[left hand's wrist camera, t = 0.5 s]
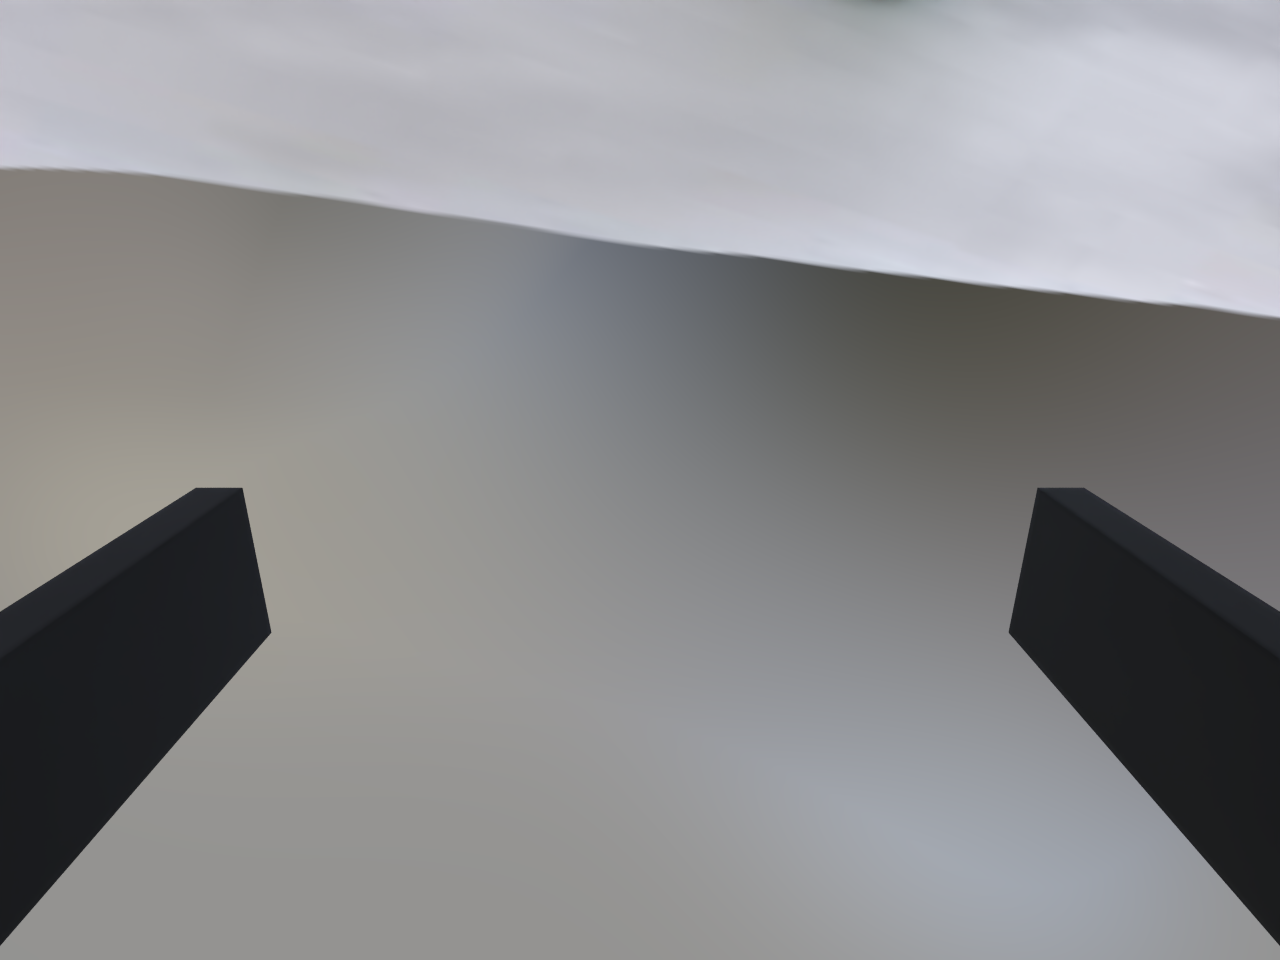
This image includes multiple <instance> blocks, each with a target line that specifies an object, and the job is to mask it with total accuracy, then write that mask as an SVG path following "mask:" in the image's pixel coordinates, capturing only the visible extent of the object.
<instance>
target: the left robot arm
mask: <svg viewBox="0 0 1280 960" xmlns="http://www.w3.org/2000/svg"><path fill="white" fill-rule="evenodd" d="M1009 633H1010V635H1011V636H1012V637H1013V638H1014V639H1015V640H1016V641H1017V643H1018V644H1019V645H1020V646H1021V647H1022V648H1023V650H1024V651H1025V652H1026V653H1027V654H1028V655H1029V657H1030V658H1031V659H1032V660H1033V661H1034V662H1035V663H1036V665H1037V666H1038V667H1039V668H1040V669H1041V670H1042V672H1043V673H1044V674H1045V675H1046V676H1047V677H1048V678H1049V680H1050V681H1051V682H1052V683H1053V684H1054V685H1055V687H1056V688H1057V689H1058V690H1059V691H1060V692H1061V693H1062V695H1063V696H1064V697H1065V698H1066V699H1067V700H1068V702H1069V703H1070V704H1071V705H1072V706H1073V707H1074V709H1075V710H1076V711H1077V712H1078V713H1079V714H1080V715H1081V717H1082V718H1083V719H1084V720H1085V721H1086V722H1087V724H1088V725H1089V726H1090V727H1091V728H1092V729H1093V730H1094V732H1095V733H1096V734H1097V735H1098V736H1099V737H1100V739H1101V740H1102V741H1103V742H1104V743H1105V744H1106V745H1107V747H1108V748H1109V749H1110V750H1111V751H1112V752H1113V754H1114V755H1115V756H1116V757H1117V758H1118V759H1119V761H1120V762H1121V763H1122V764H1123V765H1124V766H1125V767H1126V769H1127V770H1128V771H1129V772H1130V773H1131V774H1132V775H1133V777H1134V778H1135V779H1136V780H1137V781H1138V782H1139V784H1140V785H1141V786H1142V787H1143V788H1144V789H1145V791H1146V792H1147V793H1148V794H1149V795H1150V796H1151V797H1152V799H1153V800H1154V801H1155V802H1156V803H1157V804H1158V806H1159V807H1160V808H1161V809H1162V810H1163V811H1164V812H1165V814H1166V815H1167V816H1168V817H1169V818H1170V819H1171V821H1172V822H1173V823H1174V824H1175V825H1176V826H1177V828H1178V829H1179V830H1180V831H1181V832H1182V833H1183V834H1184V836H1185V837H1186V838H1187V839H1188V840H1189V841H1190V842H1191V844H1192V845H1193V846H1194V847H1195V848H1196V849H1197V851H1198V852H1199V853H1200V854H1201V855H1202V856H1203V858H1204V859H1205V860H1206V861H1207V862H1208V863H1209V864H1210V866H1211V867H1212V868H1213V869H1214V870H1215V871H1216V873H1217V874H1218V875H1219V876H1220V877H1221V878H1222V879H1223V881H1224V882H1225V883H1226V884H1227V885H1228V886H1229V888H1230V889H1231V890H1232V891H1233V892H1234V893H1235V894H1236V896H1237V897H1238V898H1239V899H1240V900H1241V901H1242V903H1243V904H1244V905H1245V906H1246V907H1247V908H1248V909H1249V911H1250V912H1251V913H1252V914H1253V915H1254V916H1255V918H1256V919H1257V920H1258V921H1259V922H1260V923H1261V925H1262V926H1263V927H1264V928H1265V929H1266V930H1267V931H1268V933H1269V934H1270V935H1271V936H1272V937H1273V938H1274V939H1275V941H1276V942H1277V943H1278V944H1279V945H1280V612H1279V611H1278V610H1276V609H1275V608H1273V607H1271V606H1270V605H1268V604H1267V603H1265V602H1264V601H1262V600H1260V599H1259V598H1257V597H1256V596H1254V595H1253V594H1251V593H1249V592H1248V591H1246V590H1245V589H1243V588H1241V587H1240V586H1238V585H1237V584H1235V583H1234V582H1232V581H1230V580H1229V579H1227V578H1226V577H1224V576H1222V575H1221V574H1219V573H1218V572H1216V571H1215V570H1213V569H1211V568H1210V567H1208V566H1207V565H1205V564H1203V563H1202V562H1200V561H1199V560H1197V559H1196V558H1194V557H1192V556H1191V555H1189V554H1188V553H1186V552H1185V551H1183V550H1181V549H1180V548H1178V547H1177V546H1175V545H1174V544H1172V543H1170V542H1169V541H1167V540H1166V539H1164V538H1162V537H1161V536H1159V535H1158V534H1156V533H1155V532H1153V531H1151V530H1150V529H1148V528H1147V527H1145V526H1143V525H1142V524H1140V523H1139V522H1137V521H1136V520H1134V519H1132V518H1131V517H1129V516H1128V515H1126V514H1125V513H1123V512H1121V511H1120V510H1118V509H1117V508H1115V507H1113V506H1112V505H1110V504H1109V503H1107V502H1106V501H1104V500H1102V499H1101V498H1099V497H1098V496H1096V495H1095V494H1093V493H1091V492H1090V491H1088V490H1087V489H1085V488H1038V489H1037V494H1036V498H1035V504H1034V508H1033V514H1032V518H1031V523H1030V528H1029V533H1028V538H1027V543H1026V548H1025V553H1024V559H1023V563H1022V568H1021V573H1020V579H1019V583H1018V588H1017V593H1016V598H1015V604H1014V608H1013V613H1012V619H1011V623H1010V628H1009ZM270 634H271V629H270V624H269V618H268V613H267V608H266V603H265V598H264V593H263V588H262V583H261V578H260V573H259V569H258V563H257V558H256V554H255V548H254V543H253V538H252V533H251V528H250V523H249V518H248V513H247V508H246V503H245V498H244V493H243V489H242V488H195V489H193V490H192V491H190V492H189V493H187V494H185V495H184V496H182V497H181V498H179V499H178V500H176V501H174V502H173V503H171V504H170V505H168V506H167V507H165V508H163V509H162V510H160V511H159V512H157V513H155V514H154V515H152V516H151V517H149V518H148V519H146V520H144V521H143V522H141V523H140V524H138V525H137V526H135V527H133V528H132V529H130V530H129V531H127V532H126V533H124V534H122V535H121V536H119V537H118V538H116V539H114V540H113V541H111V542H110V543H108V544H107V545H105V546H103V547H102V548H100V549H99V550H97V551H95V552H94V553H92V554H91V555H89V556H88V557H86V558H84V559H83V560H81V561H80V562H78V563H76V564H75V565H73V566H72V567H70V568H69V569H67V570H65V571H64V572H62V573H61V574H59V575H58V576H56V577H54V578H53V579H51V580H50V581H48V582H47V583H45V584H43V585H42V586H40V587H39V588H37V589H35V590H34V591H32V592H31V593H29V594H27V595H26V596H24V597H23V598H21V599H20V600H18V601H16V602H15V603H13V604H12V605H10V606H9V607H7V608H5V609H4V610H2V611H1V612H0V945H1V944H2V943H3V942H4V941H5V940H6V938H7V937H8V936H9V935H10V934H11V933H12V931H13V930H14V929H15V928H16V927H17V926H18V924H19V923H20V922H21V921H22V920H23V919H24V918H25V916H26V915H27V914H28V913H29V912H30V911H31V909H32V908H33V907H34V906H35V905H36V904H37V903H38V901H39V900H40V899H41V898H42V897H43V896H44V894H45V893H46V892H47V891H48V890H49V889H50V888H51V886H52V885H53V884H54V883H55V882H56V881H57V879H58V878H59V877H60V876H61V875H62V874H63V873H64V871H65V870H66V869H67V868H68V867H69V866H70V864H71V863H72V862H73V861H74V860H75V859H76V858H77V856H78V855H79V854H80V853H81V852H82V851H83V849H84V848H85V847H86V846H87V845H88V844H89V843H90V841H91V840H92V839H93V838H94V837H95V836H96V834H97V833H98V832H99V831H100V830H101V829H102V828H103V826H104V825H105V824H106V823H107V822H108V821H109V819H110V818H111V817H112V816H113V815H114V814H115V812H116V811H117V810H118V809H119V808H120V807H121V806H122V804H123V803H124V802H125V801H126V800H127V799H128V797H129V796H130V795H131V794H132V793H133V792H134V791H135V789H136V788H137V787H138V786H139V785H140V784H141V782H142V781H143V780H144V779H145V778H146V777H147V776H148V774H149V773H150V772H151V771H152V770H153V769H154V767H155V766H156V765H157V764H158V763H159V762H160V760H161V759H162V758H163V757H164V756H165V755H166V754H167V752H168V751H169V750H170V749H171V748H172V747H173V745H174V744H175V743H176V742H177V741H178V740H179V739H180V737H181V736H182V735H183V734H184V733H185V732H186V731H187V729H188V728H189V727H190V726H191V725H192V724H193V722H194V721H195V720H196V719H197V718H198V717H199V715H200V714H201V713H202V712H203V711H204V710H205V709H206V707H207V706H208V705H209V704H210V703H211V702H212V700H213V699H214V698H215V697H216V696H217V695H218V693H219V692H220V691H221V690H222V689H223V688H224V687H225V685H226V684H227V683H228V682H229V681H230V680H231V679H232V677H233V676H234V675H235V674H236V673H237V672H238V670H239V669H240V668H241V667H242V666H243V665H244V663H245V662H246V661H247V660H248V659H249V658H250V657H251V655H252V654H253V653H254V652H255V651H256V650H257V649H258V647H259V646H260V645H261V644H262V643H263V642H264V640H265V639H266V638H267V637H268V636H269V635H270Z"/></svg>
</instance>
